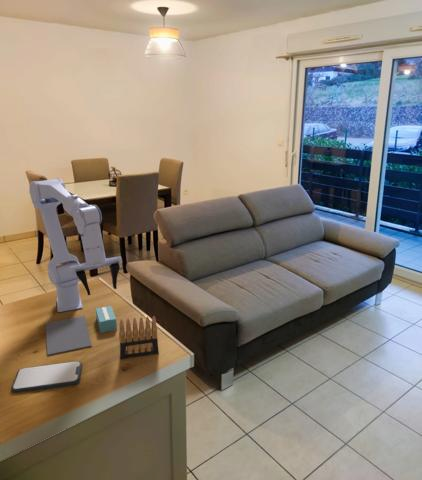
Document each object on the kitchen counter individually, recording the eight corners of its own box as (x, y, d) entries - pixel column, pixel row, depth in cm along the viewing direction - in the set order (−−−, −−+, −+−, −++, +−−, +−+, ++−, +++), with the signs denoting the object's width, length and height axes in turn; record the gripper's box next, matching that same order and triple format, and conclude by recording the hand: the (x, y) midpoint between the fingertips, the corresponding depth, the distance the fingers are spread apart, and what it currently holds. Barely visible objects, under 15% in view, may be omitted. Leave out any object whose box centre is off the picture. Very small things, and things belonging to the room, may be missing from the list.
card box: (96, 319, 128) (95, 308, 126) (111, 316, 130) (111, 305, 128) (100, 333, 120) (99, 321, 119) (116, 330, 122) (116, 318, 121)
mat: (45, 324, 124) (45, 322, 124) (84, 316, 129) (84, 315, 128) (47, 355, 108) (47, 354, 108) (91, 346, 113) (91, 345, 113)
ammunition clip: (157, 350, 112) (156, 313, 108) (158, 353, 110) (157, 316, 106) (120, 355, 109) (117, 318, 105) (120, 359, 108) (117, 321, 104)
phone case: (10, 396, 94) (79, 386, 97) (9, 390, 94) (78, 381, 97) (19, 372, 102) (82, 364, 106) (18, 367, 102) (81, 359, 105)
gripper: (68, 254, 107) (77, 300, 110) (120, 244, 112) (128, 288, 115) (67, 250, 114) (76, 294, 116) (116, 241, 119) (124, 283, 121)
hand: (102, 291), depth 116 cm, fingers open, 7 cm apart
